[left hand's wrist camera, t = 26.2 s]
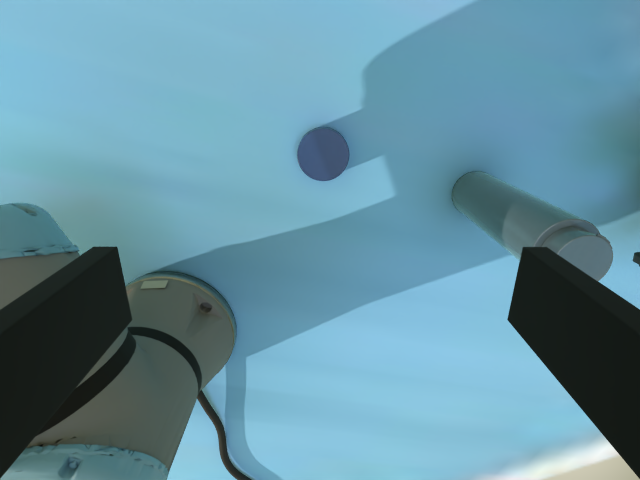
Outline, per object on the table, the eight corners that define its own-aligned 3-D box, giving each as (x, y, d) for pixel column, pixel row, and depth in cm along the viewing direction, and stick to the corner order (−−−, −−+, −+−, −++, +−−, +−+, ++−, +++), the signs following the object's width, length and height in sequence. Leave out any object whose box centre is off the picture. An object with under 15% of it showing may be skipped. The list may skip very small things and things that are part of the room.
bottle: (479, 220, 42) (587, 306, 25) (443, 203, 41) (529, 279, 24) (504, 182, 41) (638, 246, 24) (467, 163, 40) (577, 215, 23)
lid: (327, 116, 38) (327, 117, 36) (357, 156, 40) (359, 159, 38) (288, 148, 39) (286, 151, 37) (319, 186, 41) (319, 191, 39)
